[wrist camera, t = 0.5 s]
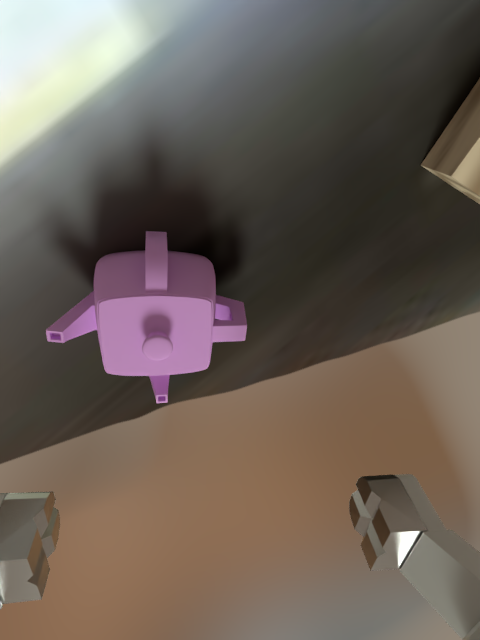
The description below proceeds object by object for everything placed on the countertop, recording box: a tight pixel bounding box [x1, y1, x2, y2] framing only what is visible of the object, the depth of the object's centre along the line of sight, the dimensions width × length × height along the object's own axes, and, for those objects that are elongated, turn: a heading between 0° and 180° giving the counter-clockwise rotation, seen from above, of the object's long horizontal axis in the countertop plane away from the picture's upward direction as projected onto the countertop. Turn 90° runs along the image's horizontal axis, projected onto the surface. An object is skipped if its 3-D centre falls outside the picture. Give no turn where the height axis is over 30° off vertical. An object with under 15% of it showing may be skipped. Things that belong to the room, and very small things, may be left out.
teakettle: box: [46, 231, 247, 403], centre depth 46 cm, size 17×17×12 cm
